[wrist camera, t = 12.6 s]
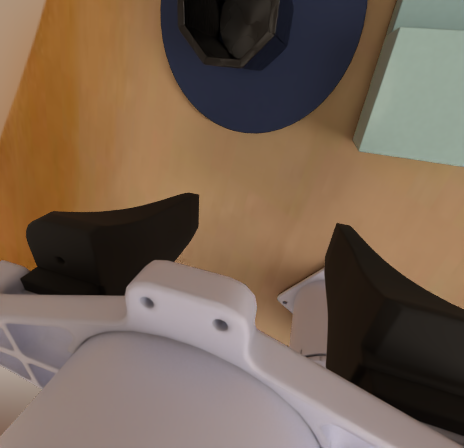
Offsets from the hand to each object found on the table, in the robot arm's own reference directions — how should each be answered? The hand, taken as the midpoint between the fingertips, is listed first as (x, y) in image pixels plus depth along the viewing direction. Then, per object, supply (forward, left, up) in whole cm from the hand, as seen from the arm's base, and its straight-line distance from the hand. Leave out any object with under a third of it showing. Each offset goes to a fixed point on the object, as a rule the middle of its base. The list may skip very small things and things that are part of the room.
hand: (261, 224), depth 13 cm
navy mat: (+8, -6, -10) cm, 15 cm away
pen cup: (+9, -6, -10) cm, 14 cm away
